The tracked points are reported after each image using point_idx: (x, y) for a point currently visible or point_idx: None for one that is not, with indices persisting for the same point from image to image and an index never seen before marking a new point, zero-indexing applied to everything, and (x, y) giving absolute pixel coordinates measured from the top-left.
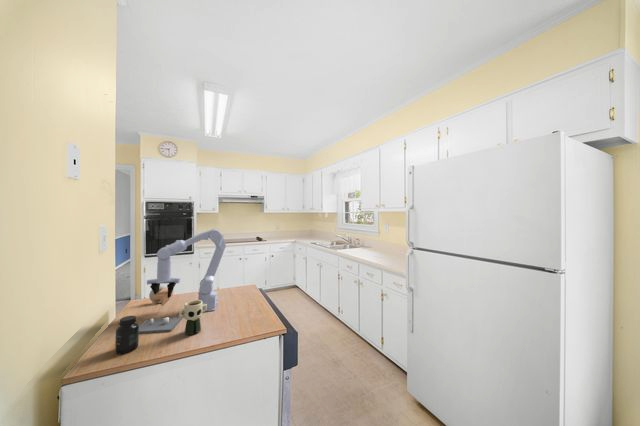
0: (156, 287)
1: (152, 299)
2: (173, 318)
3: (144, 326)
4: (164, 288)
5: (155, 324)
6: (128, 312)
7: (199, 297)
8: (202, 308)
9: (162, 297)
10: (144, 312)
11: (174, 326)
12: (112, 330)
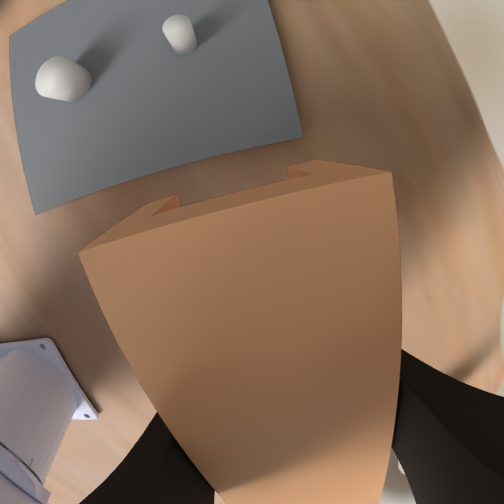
0: (465, 489)
1: (348, 169)
2: (79, 182)
3: (223, 9)
4: (403, 500)
5: (153, 51)
6: (496, 280)
7: (2, 417)
8: (16, 355)
9: (116, 234)
10: (423, 296)
11: (14, 80)
12: (427, 19)
